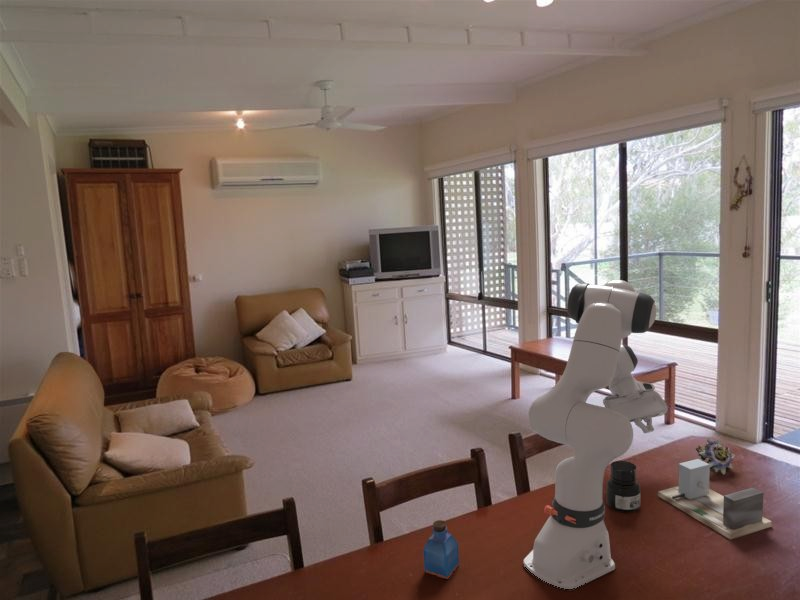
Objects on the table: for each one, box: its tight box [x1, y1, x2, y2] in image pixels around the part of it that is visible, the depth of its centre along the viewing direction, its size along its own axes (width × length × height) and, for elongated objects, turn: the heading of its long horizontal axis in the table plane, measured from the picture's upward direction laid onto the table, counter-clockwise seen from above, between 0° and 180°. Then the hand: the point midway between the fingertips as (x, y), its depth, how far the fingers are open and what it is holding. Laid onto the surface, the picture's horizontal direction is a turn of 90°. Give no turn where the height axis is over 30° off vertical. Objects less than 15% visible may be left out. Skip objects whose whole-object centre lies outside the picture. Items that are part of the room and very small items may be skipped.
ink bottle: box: [606, 460, 641, 513], centre depth 158 cm, size 10×9×12 cm
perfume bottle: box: [422, 519, 460, 577], centre depth 134 cm, size 6×6×12 cm
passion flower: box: [695, 437, 736, 476], centre depth 177 cm, size 11×11×12 cm
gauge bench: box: [657, 485, 772, 540], centre depth 153 cm, size 24×14×10 cm, turn 19°
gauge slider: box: [672, 458, 711, 499], centre depth 157 cm, size 6×11×9 cm, turn 109°
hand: (649, 431), depth 173 cm, fingers closed
